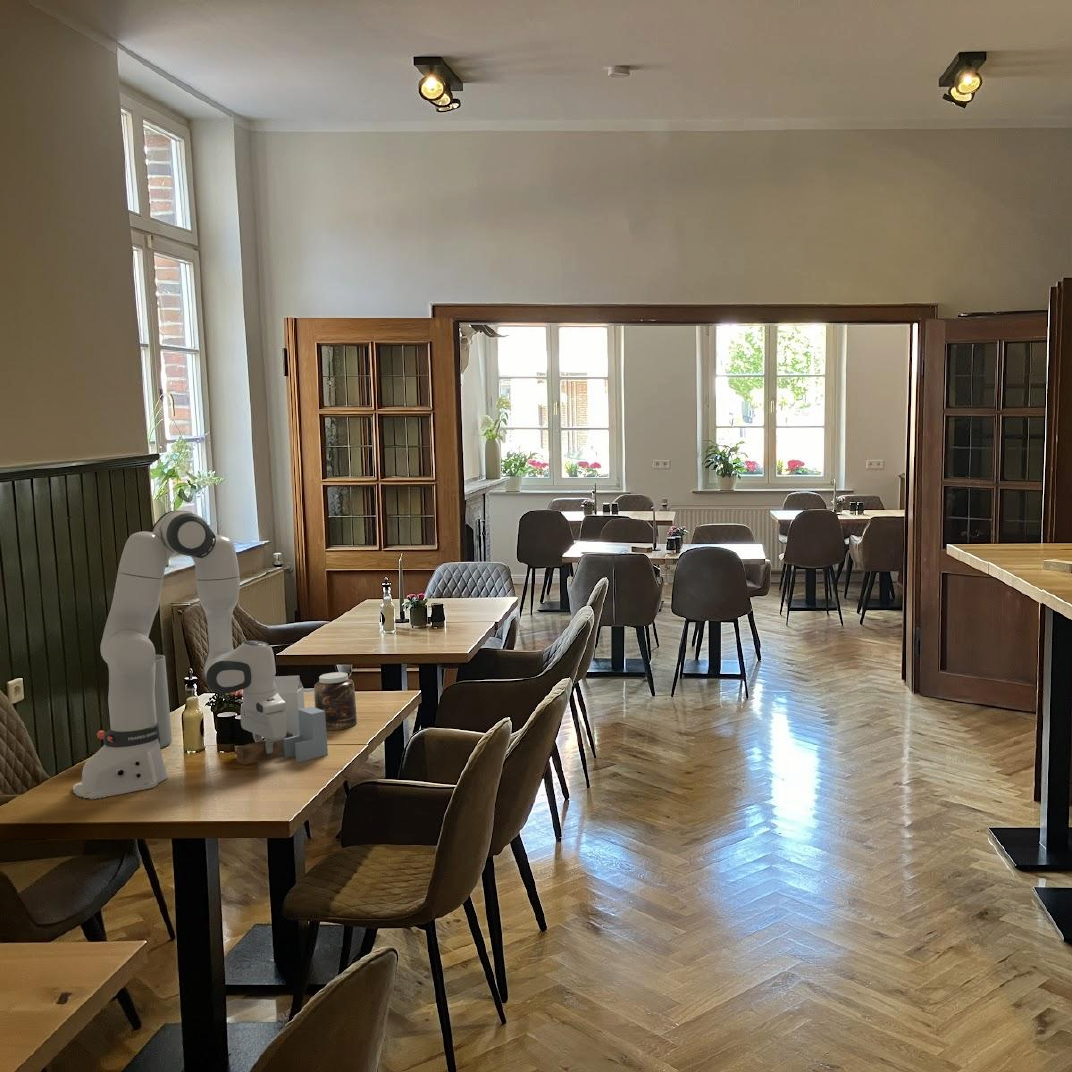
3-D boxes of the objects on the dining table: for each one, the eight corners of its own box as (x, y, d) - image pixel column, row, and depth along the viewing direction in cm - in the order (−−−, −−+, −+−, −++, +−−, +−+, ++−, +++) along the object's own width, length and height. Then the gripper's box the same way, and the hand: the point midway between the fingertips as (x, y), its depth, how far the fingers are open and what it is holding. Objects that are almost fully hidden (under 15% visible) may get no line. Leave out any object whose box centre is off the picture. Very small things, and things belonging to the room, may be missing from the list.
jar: (322, 720, 323) (318, 671, 321) (360, 719, 322) (357, 670, 321) (312, 731, 311) (308, 680, 309) (352, 730, 310) (348, 679, 309)
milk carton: (300, 745, 297) (296, 678, 295) (275, 746, 297) (270, 679, 295) (306, 738, 304) (302, 672, 302) (282, 739, 304) (277, 673, 302)
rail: (243, 764, 282) (242, 746, 281) (237, 761, 284) (236, 743, 284) (293, 751, 291) (292, 733, 291) (287, 749, 294) (286, 731, 293)
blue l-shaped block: (297, 762, 281) (294, 718, 280) (284, 757, 287) (281, 713, 285) (327, 754, 287) (324, 711, 286) (314, 749, 292) (311, 706, 291)
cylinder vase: (123, 744, 307) (115, 658, 305) (168, 736, 313) (161, 652, 310) (128, 754, 296) (120, 666, 294) (175, 746, 302) (168, 659, 299)
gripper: (232, 696, 292) (236, 746, 293) (267, 709, 276) (271, 761, 278) (254, 692, 296) (257, 740, 297) (289, 704, 281) (293, 755, 282)
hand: (264, 750), depth 287 cm, fingers closed on rail, 4 cm apart
